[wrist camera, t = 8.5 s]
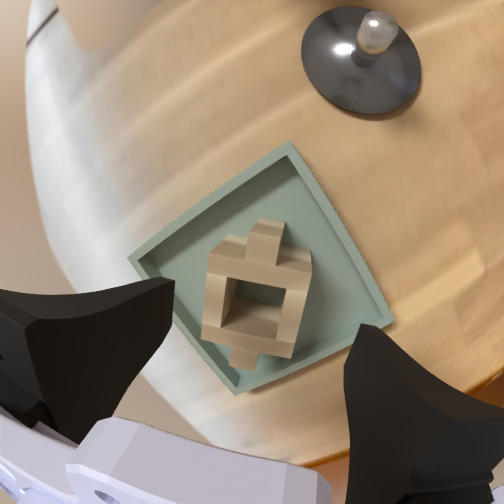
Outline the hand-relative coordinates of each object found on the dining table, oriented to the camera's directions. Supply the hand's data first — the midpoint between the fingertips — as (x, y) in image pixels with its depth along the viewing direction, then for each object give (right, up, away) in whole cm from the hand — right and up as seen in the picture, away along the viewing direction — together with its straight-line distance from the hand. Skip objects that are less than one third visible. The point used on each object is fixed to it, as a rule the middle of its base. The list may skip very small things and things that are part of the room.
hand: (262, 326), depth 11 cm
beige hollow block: (0, +1, +9) cm, 10 cm away
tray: (0, +1, +10) cm, 10 cm away
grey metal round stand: (+7, +15, +5) cm, 17 cm away
